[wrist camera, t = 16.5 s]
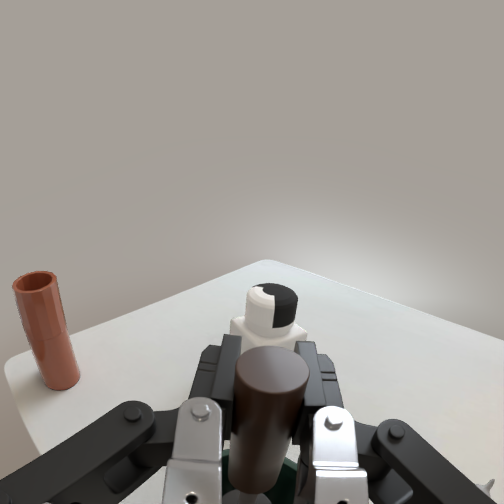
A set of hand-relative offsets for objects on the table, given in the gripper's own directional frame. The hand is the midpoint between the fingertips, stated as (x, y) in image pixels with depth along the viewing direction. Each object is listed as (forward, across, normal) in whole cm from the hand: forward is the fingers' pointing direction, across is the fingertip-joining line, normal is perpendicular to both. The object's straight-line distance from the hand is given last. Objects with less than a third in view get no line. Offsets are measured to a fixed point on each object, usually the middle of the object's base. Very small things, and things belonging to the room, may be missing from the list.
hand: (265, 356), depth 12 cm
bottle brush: (-3, 0, +15) cm, 15 cm away
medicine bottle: (+22, -2, +20) cm, 30 cm away
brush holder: (+13, +25, +20) cm, 35 cm away
